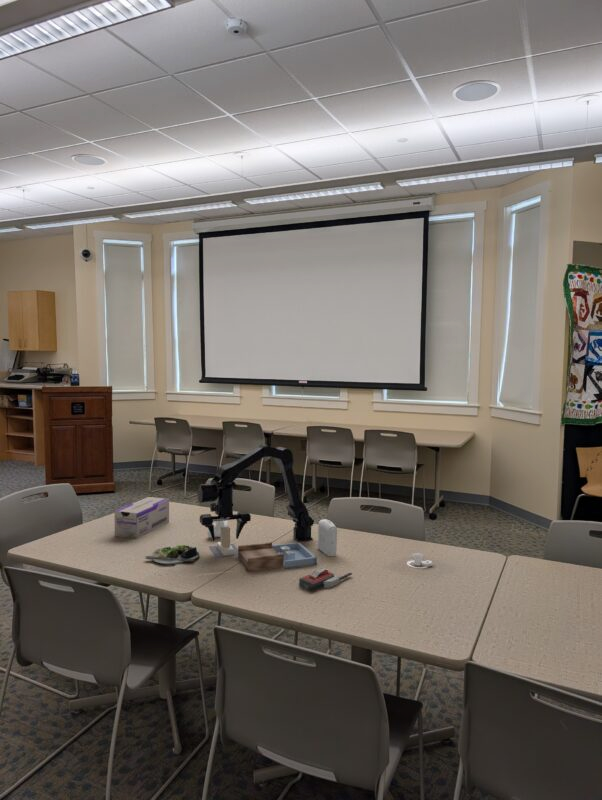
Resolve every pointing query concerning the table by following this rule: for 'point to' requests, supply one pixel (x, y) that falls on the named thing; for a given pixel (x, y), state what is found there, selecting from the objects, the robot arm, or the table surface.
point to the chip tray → (297, 555)
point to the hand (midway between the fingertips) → (225, 539)
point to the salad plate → (175, 555)
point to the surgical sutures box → (141, 517)
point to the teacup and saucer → (419, 561)
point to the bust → (218, 528)
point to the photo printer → (327, 537)
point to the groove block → (260, 556)
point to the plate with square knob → (225, 542)
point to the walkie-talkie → (320, 580)
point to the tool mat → (219, 554)
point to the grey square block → (289, 555)
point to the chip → (283, 549)
